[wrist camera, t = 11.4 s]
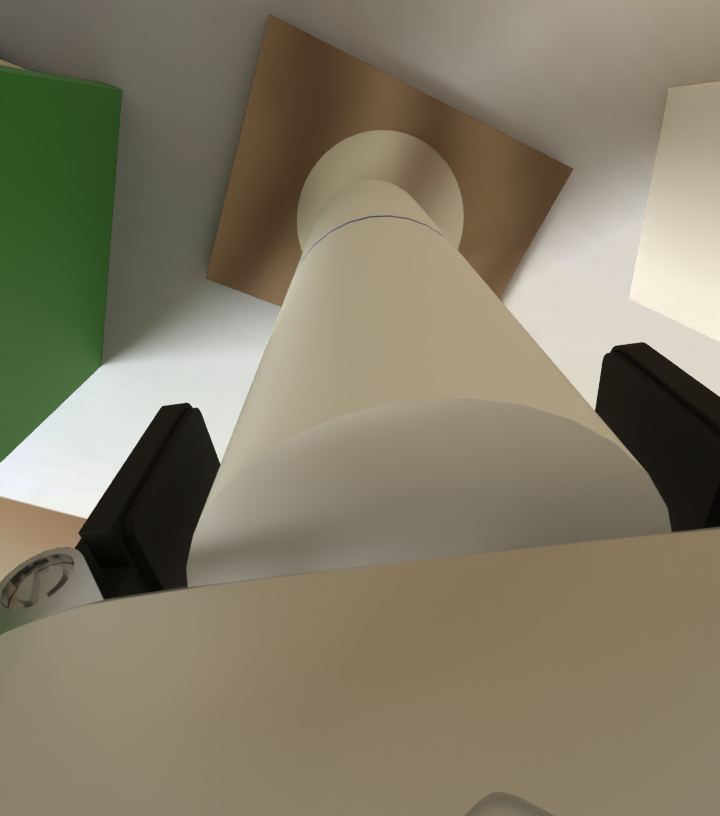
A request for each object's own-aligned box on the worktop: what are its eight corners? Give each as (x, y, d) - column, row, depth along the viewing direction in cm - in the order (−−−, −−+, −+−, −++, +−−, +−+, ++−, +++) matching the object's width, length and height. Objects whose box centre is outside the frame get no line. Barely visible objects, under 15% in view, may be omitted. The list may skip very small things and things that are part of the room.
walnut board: (210, 273, 30) (205, 278, 29) (272, 18, 24) (268, 13, 23) (453, 364, 34) (456, 373, 33) (565, 167, 28) (574, 169, 26)
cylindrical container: (444, 196, 27) (789, 460, 6) (409, 311, 31) (542, 736, 9) (324, 164, 26) (200, 338, 5) (302, 287, 30) (178, 698, 8)
